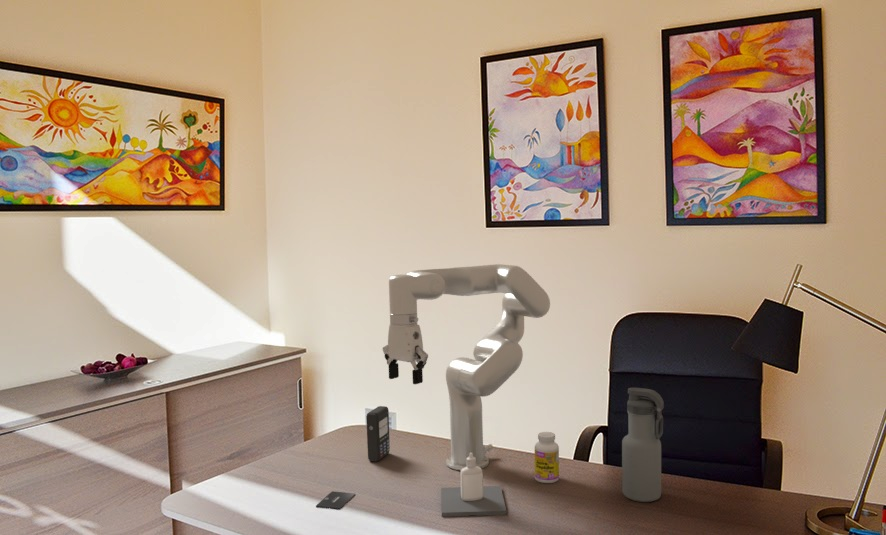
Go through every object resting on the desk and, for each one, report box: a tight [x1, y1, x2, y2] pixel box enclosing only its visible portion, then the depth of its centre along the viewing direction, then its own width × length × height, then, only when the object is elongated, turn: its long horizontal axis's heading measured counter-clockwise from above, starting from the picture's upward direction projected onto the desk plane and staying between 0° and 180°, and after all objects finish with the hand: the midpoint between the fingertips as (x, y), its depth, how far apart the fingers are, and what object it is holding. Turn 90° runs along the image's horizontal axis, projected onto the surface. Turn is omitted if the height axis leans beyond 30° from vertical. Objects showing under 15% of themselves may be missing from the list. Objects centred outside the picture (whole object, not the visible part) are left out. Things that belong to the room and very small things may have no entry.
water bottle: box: [621, 387, 665, 503], centre depth 190 cm, size 10×10×28 cm
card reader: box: [365, 405, 391, 462], centre depth 225 cm, size 9×4×15 cm, turn 159°
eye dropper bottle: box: [459, 453, 484, 501], centre depth 189 cm, size 4×6×12 cm
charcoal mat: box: [440, 485, 507, 517], centre depth 190 cm, size 16×16×1 cm
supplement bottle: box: [534, 431, 560, 484], centre depth 204 cm, size 7×7×13 cm
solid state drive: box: [315, 490, 356, 510], centre depth 194 cm, size 7×10×1 cm
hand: (405, 380), depth 204 cm, fingers open, 9 cm apart
